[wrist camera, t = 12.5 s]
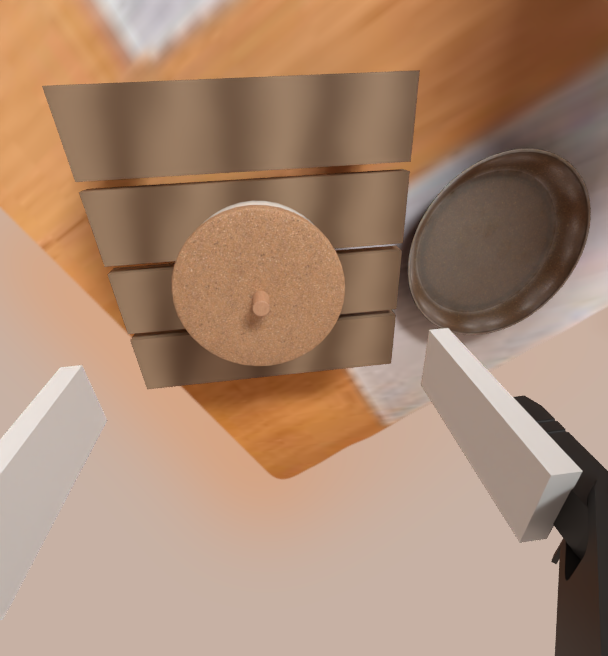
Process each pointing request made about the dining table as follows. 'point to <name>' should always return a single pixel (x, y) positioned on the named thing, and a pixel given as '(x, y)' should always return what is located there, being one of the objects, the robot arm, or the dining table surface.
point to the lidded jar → (258, 284)
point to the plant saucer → (499, 241)
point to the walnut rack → (243, 196)
